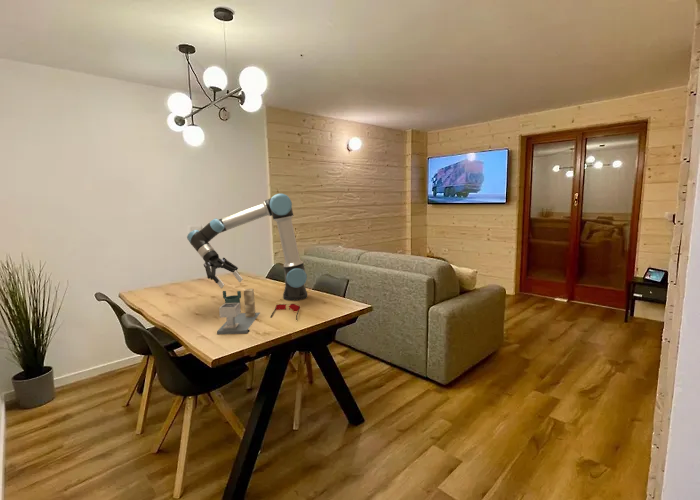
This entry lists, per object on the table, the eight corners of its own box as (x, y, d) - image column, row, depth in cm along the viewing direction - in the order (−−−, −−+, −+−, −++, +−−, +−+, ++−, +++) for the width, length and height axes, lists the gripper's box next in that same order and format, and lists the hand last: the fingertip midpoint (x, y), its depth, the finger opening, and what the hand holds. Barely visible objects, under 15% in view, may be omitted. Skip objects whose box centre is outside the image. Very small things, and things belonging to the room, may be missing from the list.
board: (260, 315, 192) (260, 312, 192) (247, 333, 166) (247, 330, 166) (234, 316, 192) (234, 313, 191) (217, 334, 166) (216, 331, 166)
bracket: (242, 306, 210) (241, 291, 209) (226, 308, 205) (224, 293, 204) (238, 302, 217) (237, 288, 216) (223, 305, 213) (221, 290, 212)
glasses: (300, 311, 197) (300, 302, 196) (297, 321, 181) (296, 312, 180) (275, 312, 197) (274, 303, 196) (269, 322, 181) (268, 313, 180)
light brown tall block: (255, 314, 189) (253, 288, 186) (253, 316, 185) (251, 290, 183) (247, 314, 189) (245, 288, 186) (245, 317, 185) (243, 290, 183)
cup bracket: (241, 323, 175) (240, 302, 173) (237, 329, 167) (235, 307, 166) (226, 324, 175) (224, 303, 173) (220, 329, 167) (218, 307, 166)
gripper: (222, 255, 205) (244, 282, 201) (186, 263, 183) (210, 294, 179) (228, 246, 202) (251, 274, 198) (193, 253, 180) (218, 284, 176)
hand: (232, 283), depth 188 cm, fingers open, 13 cm apart
